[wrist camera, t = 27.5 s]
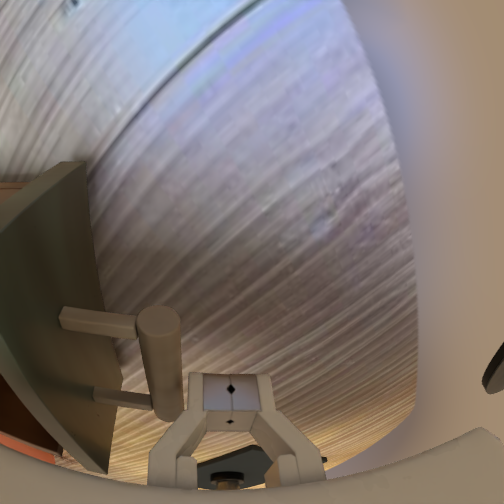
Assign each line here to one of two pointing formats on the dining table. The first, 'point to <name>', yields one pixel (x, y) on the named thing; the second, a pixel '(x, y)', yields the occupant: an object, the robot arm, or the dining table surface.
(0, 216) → the drawer
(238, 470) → the mat
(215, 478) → the domed metal post
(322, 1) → the dining table surface
